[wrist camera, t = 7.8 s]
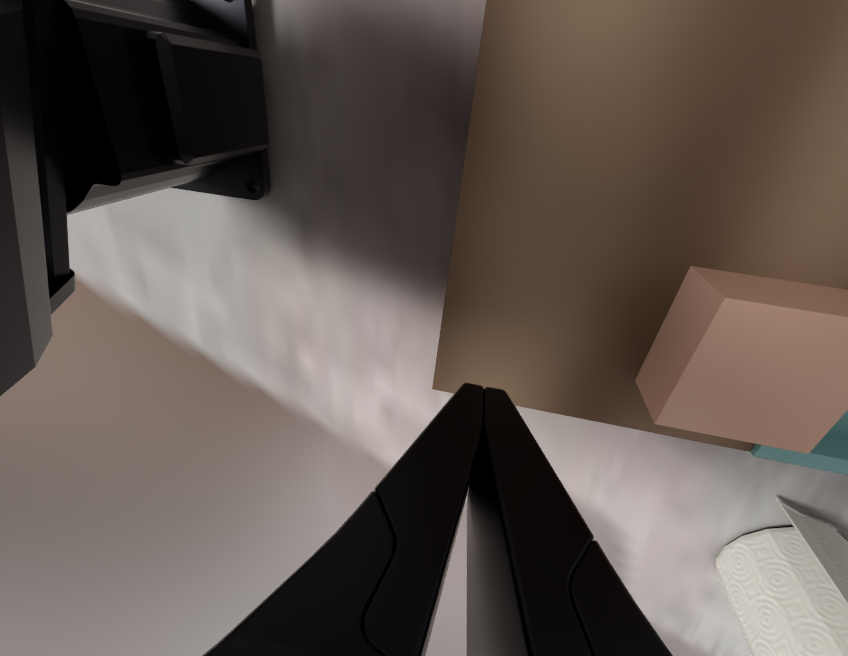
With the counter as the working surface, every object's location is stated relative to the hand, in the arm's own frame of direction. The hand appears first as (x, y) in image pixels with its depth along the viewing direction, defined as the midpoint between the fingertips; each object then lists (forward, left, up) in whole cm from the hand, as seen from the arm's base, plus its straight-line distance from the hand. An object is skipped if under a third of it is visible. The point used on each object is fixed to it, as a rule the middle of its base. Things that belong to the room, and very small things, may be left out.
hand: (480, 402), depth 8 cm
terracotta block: (+7, 0, -5) cm, 9 cm away
